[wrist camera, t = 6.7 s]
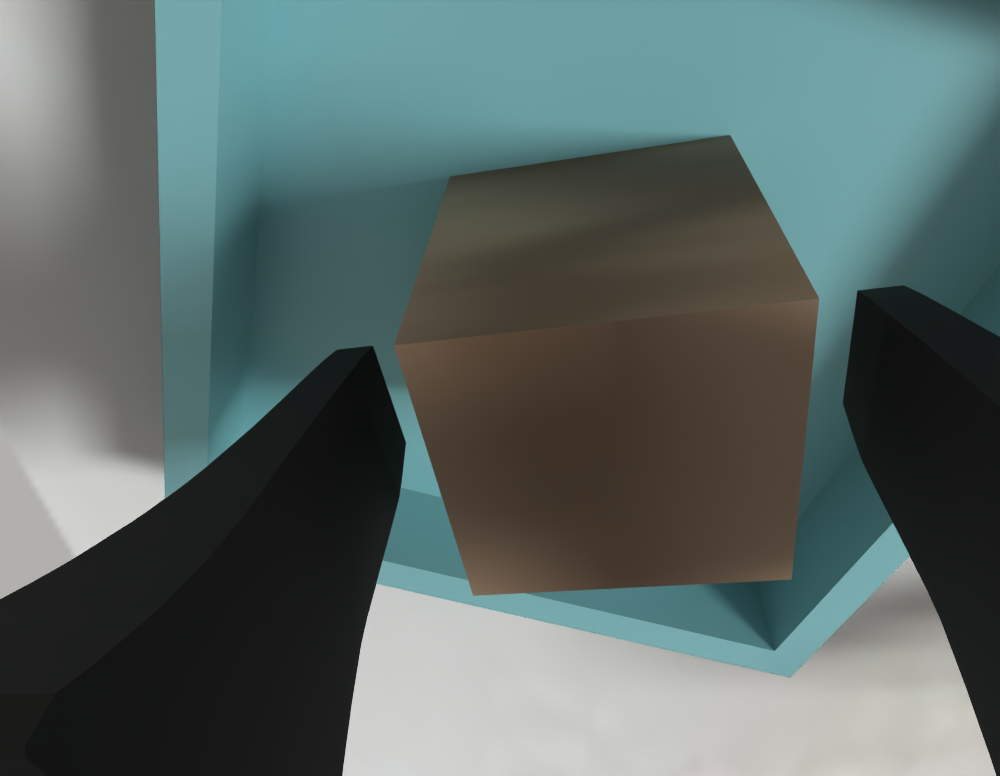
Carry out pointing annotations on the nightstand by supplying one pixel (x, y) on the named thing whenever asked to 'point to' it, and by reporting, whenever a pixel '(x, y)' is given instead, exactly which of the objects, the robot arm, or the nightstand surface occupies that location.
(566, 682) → the nightstand surface
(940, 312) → the robot arm
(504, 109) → the teal tray
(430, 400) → the walnut block
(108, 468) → the nightstand surface
